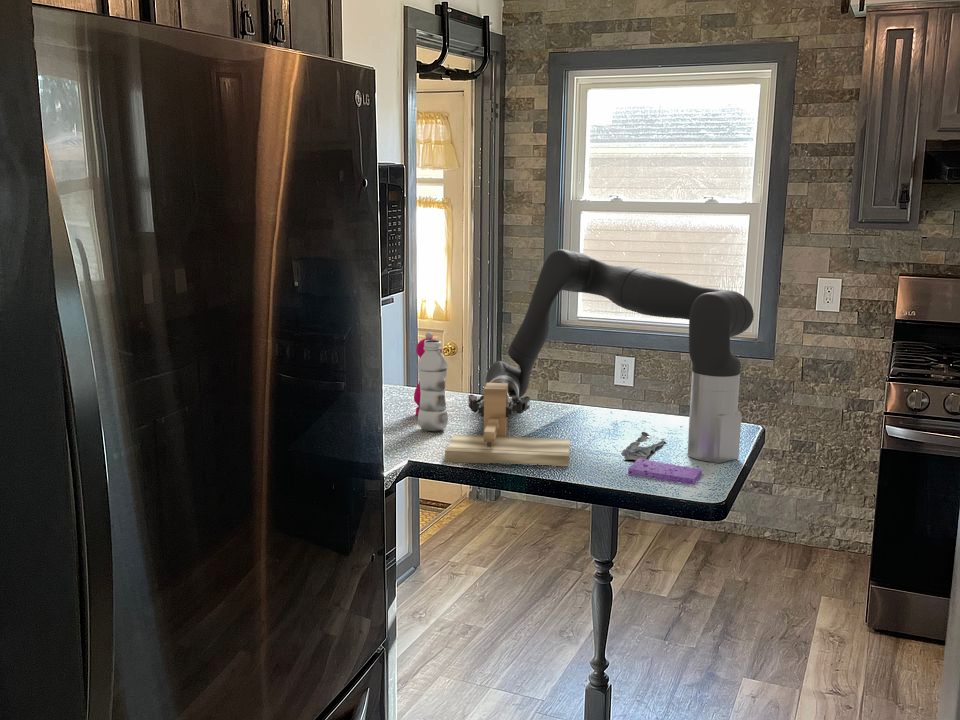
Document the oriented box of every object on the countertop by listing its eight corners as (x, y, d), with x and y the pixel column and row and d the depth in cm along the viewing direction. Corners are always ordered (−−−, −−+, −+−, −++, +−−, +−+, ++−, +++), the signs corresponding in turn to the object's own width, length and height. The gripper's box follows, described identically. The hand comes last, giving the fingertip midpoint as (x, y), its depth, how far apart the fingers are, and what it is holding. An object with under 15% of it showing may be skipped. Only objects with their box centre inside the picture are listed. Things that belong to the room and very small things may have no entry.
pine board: (454, 444, 182) (454, 434, 182) (569, 449, 179) (570, 439, 179) (445, 461, 170) (445, 450, 170) (568, 467, 168) (569, 455, 167)
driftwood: (643, 467, 170) (644, 456, 170) (610, 462, 173) (611, 451, 173) (672, 443, 188) (672, 433, 188) (641, 438, 191) (642, 429, 191)
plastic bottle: (441, 435, 189) (442, 344, 185) (413, 432, 191) (412, 342, 187) (452, 428, 195) (452, 339, 191) (424, 425, 197) (424, 338, 193)
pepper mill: (443, 419, 203) (443, 334, 199) (412, 419, 203) (412, 334, 199) (445, 412, 210) (445, 329, 206) (415, 411, 210) (415, 329, 206)
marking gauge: (486, 437, 188) (487, 382, 186) (507, 437, 188) (508, 383, 185) (477, 461, 170) (477, 401, 168) (500, 462, 170) (500, 402, 168)
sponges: (638, 467, 170) (638, 458, 169) (703, 477, 164) (703, 467, 164) (626, 477, 164) (627, 467, 163) (693, 487, 158) (694, 478, 158)
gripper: (470, 377, 198) (460, 393, 181) (533, 378, 196) (529, 395, 179) (470, 409, 199) (460, 428, 182) (533, 411, 198) (529, 430, 181)
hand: (495, 411), depth 181 cm, fingers closed on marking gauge, 4 cm apart
